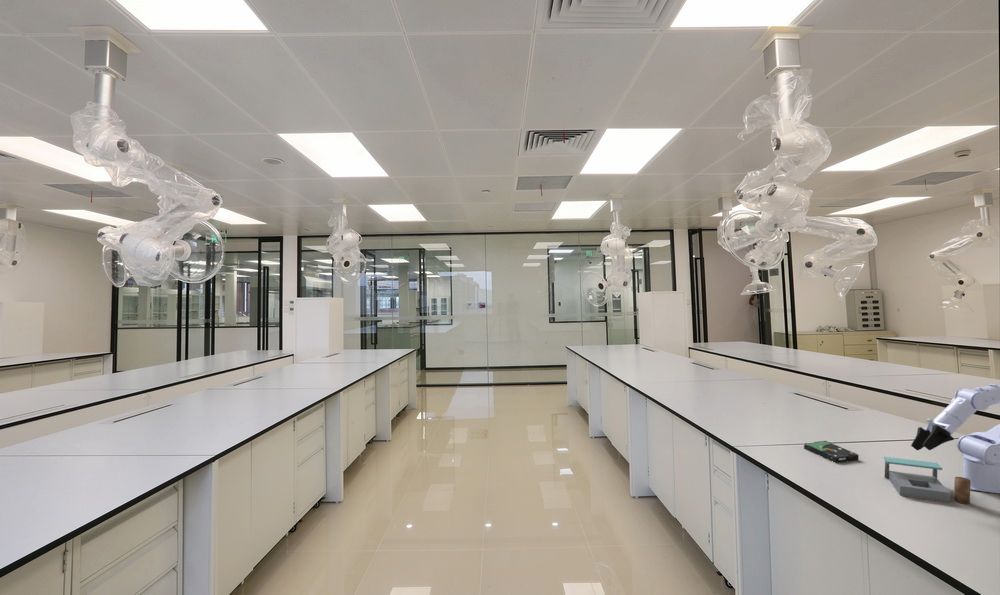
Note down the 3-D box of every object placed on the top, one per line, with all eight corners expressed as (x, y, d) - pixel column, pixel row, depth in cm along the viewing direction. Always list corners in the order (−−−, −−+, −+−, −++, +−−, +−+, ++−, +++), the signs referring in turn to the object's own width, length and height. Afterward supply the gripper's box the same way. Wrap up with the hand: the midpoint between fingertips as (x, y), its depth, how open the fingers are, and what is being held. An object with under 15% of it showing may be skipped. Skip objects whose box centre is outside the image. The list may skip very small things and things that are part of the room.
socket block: (934, 485, 157) (935, 476, 157) (949, 502, 146) (949, 492, 146) (888, 479, 162) (889, 470, 162) (899, 495, 151) (900, 485, 151)
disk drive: (859, 461, 178) (825, 446, 193) (859, 454, 178) (825, 439, 192) (835, 464, 176) (803, 449, 191) (835, 457, 176) (803, 442, 191)
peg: (967, 499, 147) (967, 477, 147) (972, 505, 144) (972, 482, 144) (952, 497, 149) (952, 476, 148) (956, 503, 146) (957, 480, 145)
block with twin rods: (936, 483, 158) (937, 462, 158) (941, 489, 154) (942, 468, 154) (883, 476, 164) (884, 456, 164) (887, 481, 160) (887, 461, 160)
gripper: (927, 411, 161) (897, 438, 162) (950, 407, 148) (918, 437, 148) (948, 427, 158) (918, 455, 159) (974, 424, 145) (942, 455, 145)
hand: (920, 447), depth 153 cm, fingers open, 7 cm apart
